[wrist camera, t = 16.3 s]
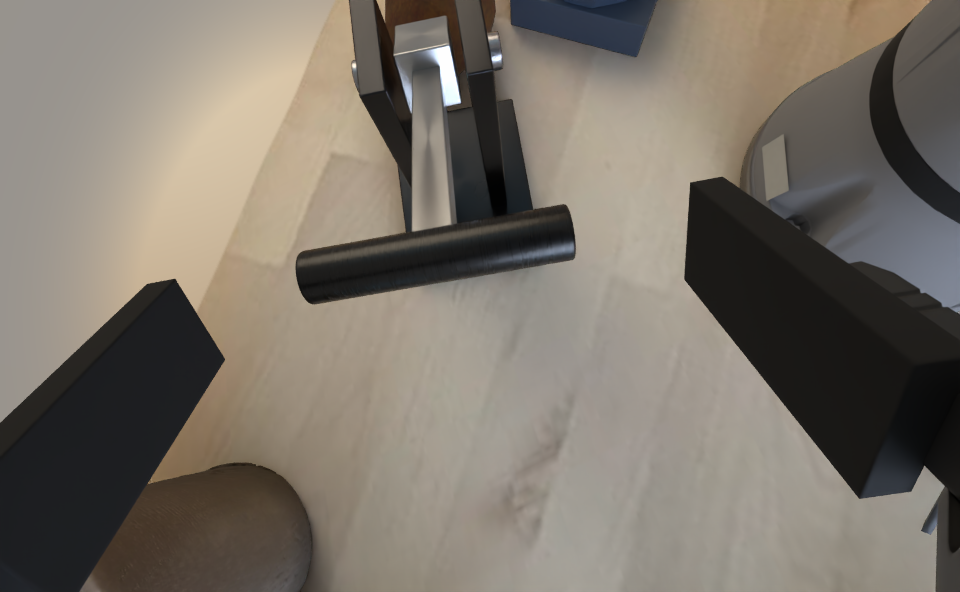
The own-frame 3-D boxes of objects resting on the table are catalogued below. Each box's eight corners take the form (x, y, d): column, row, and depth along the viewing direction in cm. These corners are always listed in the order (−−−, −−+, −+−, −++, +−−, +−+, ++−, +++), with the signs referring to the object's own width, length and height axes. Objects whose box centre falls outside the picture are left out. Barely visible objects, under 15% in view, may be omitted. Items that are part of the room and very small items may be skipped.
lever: (576, 283, 13) (576, 214, 11) (322, 326, 13) (280, 267, 11) (511, 62, 21) (504, 2, 19) (358, 92, 21) (337, 37, 20)
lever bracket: (539, 250, 30) (549, 131, 16) (414, 272, 30) (325, 173, 17) (512, 110, 32) (503, -98, 18) (397, 132, 32) (305, -54, 19)
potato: (510, -18, 34) (506, -121, 27) (487, 112, 32) (476, 37, 25) (416, -24, 35) (389, -125, 28) (387, 103, 33) (351, 27, 26)
